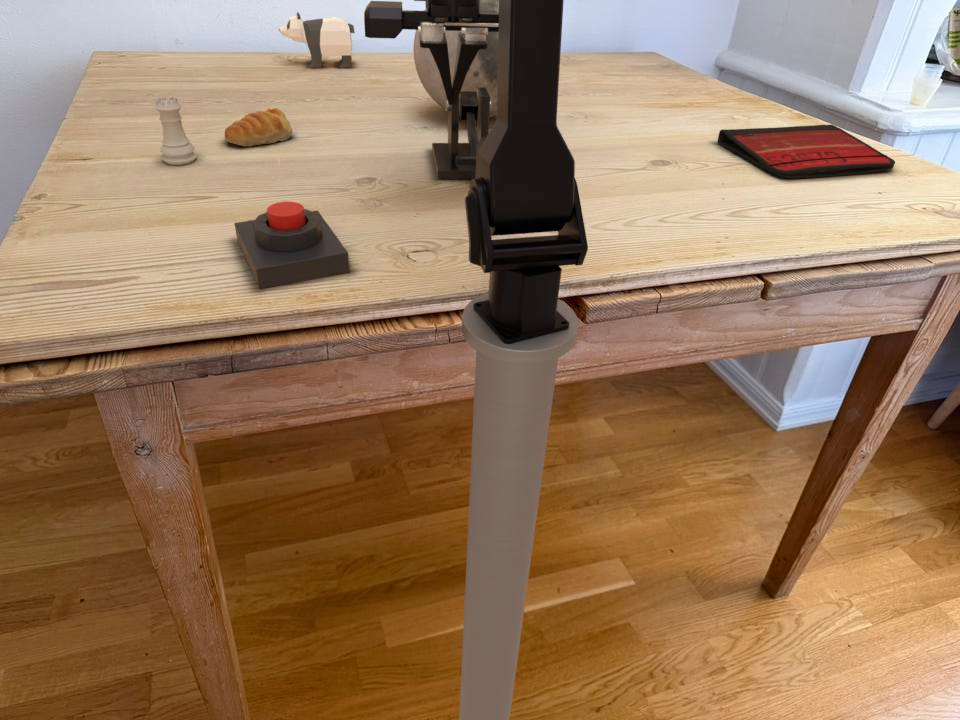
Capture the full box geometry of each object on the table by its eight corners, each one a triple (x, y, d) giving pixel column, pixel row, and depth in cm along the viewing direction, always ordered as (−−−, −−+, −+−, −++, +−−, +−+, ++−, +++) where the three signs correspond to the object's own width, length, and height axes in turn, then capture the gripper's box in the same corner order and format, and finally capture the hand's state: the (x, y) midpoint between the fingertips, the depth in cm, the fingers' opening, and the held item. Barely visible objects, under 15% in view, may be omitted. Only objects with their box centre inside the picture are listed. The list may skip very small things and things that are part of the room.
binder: (719, 127, 105) (832, 122, 110) (715, 142, 107) (826, 136, 112) (781, 169, 93) (904, 160, 98) (775, 185, 95) (897, 176, 100)
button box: (349, 272, 69) (346, 236, 66) (259, 289, 65) (253, 251, 63) (319, 228, 76) (316, 194, 74) (237, 241, 73) (231, 206, 71)
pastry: (242, 152, 95) (237, 125, 92) (215, 141, 98) (210, 114, 96) (297, 138, 101) (294, 111, 98) (270, 127, 104) (266, 102, 102)
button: (309, 229, 68) (308, 212, 67) (273, 234, 67) (271, 218, 66) (300, 215, 71) (298, 199, 70) (265, 220, 69) (263, 204, 68)
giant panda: (356, 61, 140) (353, 10, 135) (357, 68, 136) (353, 15, 130) (283, 61, 138) (277, 9, 132) (282, 68, 133) (275, 14, 128)
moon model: (393, 123, 108) (388, -19, 96) (444, 93, 123) (445, -33, 112) (510, 143, 103) (520, -5, 91) (548, 109, 118) (561, -21, 106)
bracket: (504, 178, 91) (509, 103, 85) (437, 179, 90) (438, 103, 84) (493, 150, 100) (496, 81, 94) (432, 151, 98) (432, 80, 93)
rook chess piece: (163, 167, 89) (148, 105, 84) (161, 156, 92) (146, 95, 88) (198, 163, 91) (186, 102, 86) (195, 152, 94) (183, 93, 89)
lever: (494, 171, 86) (496, 157, 84) (455, 171, 86) (457, 157, 84) (485, 105, 92) (487, 91, 90) (448, 105, 91) (449, 90, 89)
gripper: (533, -58, 76) (522, 87, 85) (365, -64, 74) (373, 84, 84) (549, -48, 67) (536, 113, 76) (359, -56, 65) (368, 110, 75)
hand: (452, 104), depth 78 cm, fingers closed
